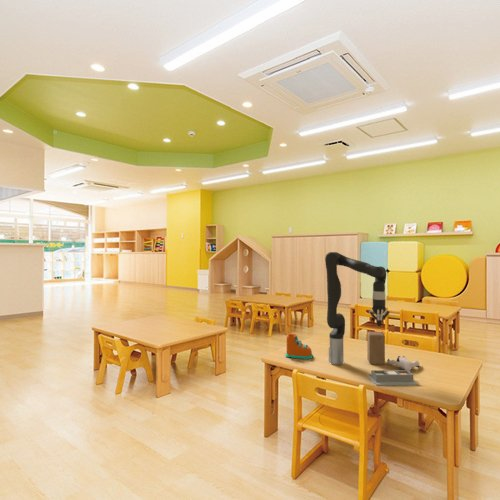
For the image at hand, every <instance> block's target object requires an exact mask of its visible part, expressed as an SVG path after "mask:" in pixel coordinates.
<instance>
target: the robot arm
mask: <svg viewBox="0 0 500 500" xmlns="http://www.w3.org/2000/svg"><path fill="white" fill-rule="evenodd" d="M324 261H325V269H326V288H327V289H326V292H327V293H326V294H327V313H326V323H327V326H328V327H329V328H330V329H332V330H331V331H330V332H329V347H328V362H329V364H330V363H331V364H330V365H337V366H340V365H344V335H345V333H346V318H345V316H344V315H343V314H342V313H340V312H339V313H338V312H337V309H338V304H339V303H340V300H341V297H342V284H341V281H340V278H339V275H338V269H337V268H338V266H340V267H341V266H343V267H347V268H349V269H351V270H353V271H356V272H359V273H361V274H364V275H365V274H366V275H368V276H370V277H373V278H374V282H373V284H372V287H373V288H372V307H371V309H370V310H368V313H369V314H370V315H371V317H372V318H373V320H376V321H375V322H376V323H375V324H376V326H377V327H381V326H382V320H385V319H386V318H387V317H388V316H389V314H390V311H389V310H387V307H386V285H385V284H386V279H387V269H386V268H385V267H384V266H375V265H372V264H370V263H369V262H365V261H362V260H359V259H358V260H357V259H354V258H350V257H347V256H346V255H343V254H341V253H339V252H337V251H330V252H328V253H326V255H325V257H324Z"/></svg>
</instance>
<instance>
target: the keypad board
mask: <svg viewBox="0 0 500 500" xmlns="http://www.w3.org/2000/svg"><path fill="white" fill-rule="evenodd" d="M386 371H395V372H396V373H397V374H395V375H389V374H388V373H387V372H386ZM370 372H371V374H368V375H366V376H367V378H368V379H369V380H370V381H371V382H372V383H373V384H374V385H375V386H376V387H379V386H380V387H381V386H384V387H385V386H386V387H387V386H419V382H417V381H415V380H414V374H413V373H412V372H411V371H410V372H409V371H408V370H404V369H392V370H391V369H385V370H384V369H383V370H382V369H380V370H379V369H378V370H376V369H375V370H374V369H372V370H370ZM376 373H383V374H384V375H377V374H376ZM400 373H407V374H400Z"/></svg>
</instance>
